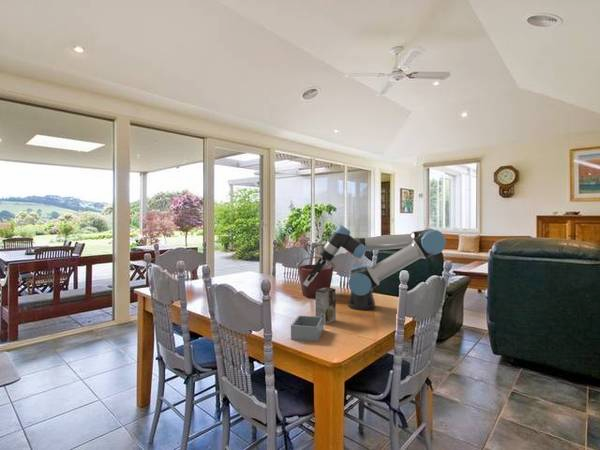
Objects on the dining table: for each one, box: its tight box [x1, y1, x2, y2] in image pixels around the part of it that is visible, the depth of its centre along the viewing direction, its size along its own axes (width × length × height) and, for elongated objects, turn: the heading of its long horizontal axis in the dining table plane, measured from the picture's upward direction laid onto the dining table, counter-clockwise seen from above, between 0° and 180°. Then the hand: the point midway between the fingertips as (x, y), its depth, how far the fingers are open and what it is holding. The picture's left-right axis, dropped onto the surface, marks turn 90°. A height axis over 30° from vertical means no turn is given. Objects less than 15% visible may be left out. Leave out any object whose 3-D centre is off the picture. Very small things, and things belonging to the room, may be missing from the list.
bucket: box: [295, 256, 336, 299], centre depth 227 cm, size 24×22×25 cm
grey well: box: [290, 315, 324, 342], centre depth 156 cm, size 12×15×6 cm
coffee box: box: [314, 287, 337, 326], centre depth 174 cm, size 9×6×16 cm
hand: (307, 282), depth 193 cm, fingers open, 13 cm apart
